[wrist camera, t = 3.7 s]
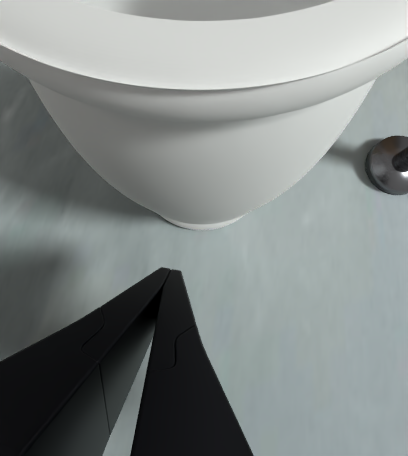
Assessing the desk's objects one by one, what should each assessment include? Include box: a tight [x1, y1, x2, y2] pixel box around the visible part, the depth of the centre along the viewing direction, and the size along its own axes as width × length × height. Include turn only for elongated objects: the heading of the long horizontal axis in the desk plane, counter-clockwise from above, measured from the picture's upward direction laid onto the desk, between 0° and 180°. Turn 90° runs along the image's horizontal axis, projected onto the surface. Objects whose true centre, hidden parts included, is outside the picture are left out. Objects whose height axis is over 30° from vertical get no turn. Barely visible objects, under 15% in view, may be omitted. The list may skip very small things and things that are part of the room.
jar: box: [0, 0, 408, 230], centre depth 12 cm, size 11×10×15 cm
